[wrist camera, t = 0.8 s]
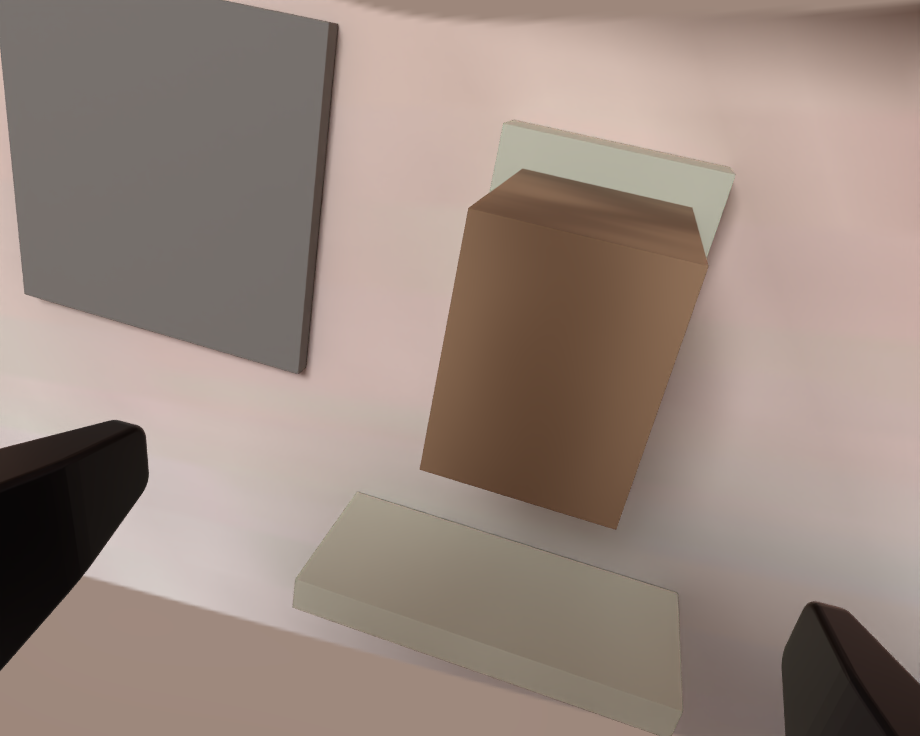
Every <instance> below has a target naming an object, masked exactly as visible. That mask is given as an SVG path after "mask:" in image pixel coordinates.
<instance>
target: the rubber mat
mask: <svg viewBox="0 0 920 736" xmlns="http://www.w3.org/2000/svg"><path fill="white" fill-rule="evenodd" d="M337 27H338V24H336V23H331V22H327V21H322V20H317V19H312V18H307V17H302V16H297V15H293V14H288V13H283V12H278V11H273V10H268V9H263V8H258V7H254V6H249V5H244V4H239V3H234V2H229V1H224V0H0V50H1V60H2V70H3V80H4V90H5V100H6V110H7V121H8V131H9V141H10V151H11V161H12V171H13V181H14V191H15V202H16V212H17V222H18V232H19V242H20V252H21V262H22V272H23V282H24V293H25V294H26V295H29V296H33V297H36V298H40V299H43V300H46V301H50V302H53V303H57V304H60V305H63V306H67V307H70V308H74V309H77V310H81V311H84V312H87V313H91V314H94V315H98V316H101V317H105V318H108V319H111V320H115V321H118V322H122V323H125V324H128V325H132V326H135V327H139V328H142V329H146V330H149V331H152V332H156V333H159V334H163V335H166V336H169V337H173V338H176V339H180V340H183V341H187V342H190V343H193V344H197V345H200V346H204V347H207V348H210V349H214V350H217V351H221V352H224V353H228V354H231V355H234V356H238V357H241V358H245V359H248V360H252V361H255V362H258V363H262V364H265V365H269V366H272V367H275V368H279V369H282V370H286V371H289V372H293V373H296V374H299V373H300V372H301V371H302V370H303V369H305V368H306V360H307V349H308V338H309V327H310V317H311V306H312V295H313V285H314V274H315V263H316V252H317V242H318V231H319V220H320V210H321V199H322V188H323V177H324V167H325V156H326V145H327V135H328V124H329V113H330V102H331V92H332V81H333V70H334V60H335V49H336V38H337Z"/></svg>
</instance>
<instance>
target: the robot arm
mask: <svg viewBox="0 0 920 736" xmlns="http://www.w3.org/2000/svg"><path fill="white" fill-rule="evenodd" d="M148 477H149V469H148V456H147V444H146V435H145V432H144V430H143V429H142V428H141V427H140V426H138V425H134V424H131V423H127V422H123V421H119V420H111V421H106V422H103V423H99V424H95V425H91V426H87V427H83V428H79V429H75V430H71V431H67V432H63V433H59V434H55V435H52V436H48V437H44V438H40V439H36V440H32V441H28V442H24V443H20V444H16V445H12V446H8V447H4V448H1V449H0V671H1V670H2V668H3V667H4V666H5V665H6V664H7V663H8V662H9V660H10V659H11V658H12V657H13V656H14V655H15V654H16V653H17V651H18V650H19V649H20V648H21V647H22V646H23V645H24V643H25V642H26V641H27V640H28V639H29V638H30V636H31V635H32V634H33V633H34V632H35V631H36V630H37V629H38V627H39V626H40V625H41V624H42V623H43V622H44V621H45V619H46V618H47V617H48V616H49V615H50V614H51V613H52V611H53V610H54V609H55V608H56V607H57V605H59V603H60V602H61V601H62V600H63V599H64V598H65V597H66V595H67V594H68V593H69V592H70V591H71V590H72V588H73V587H74V586H75V585H76V584H77V582H78V581H79V580H80V579H81V577H82V576H83V575H84V574H85V572H86V571H87V570H88V568H89V567H90V566H91V564H92V563H93V562H94V560H95V559H96V558H97V556H98V555H99V553H100V552H101V551H102V549H103V548H104V546H105V545H106V544H107V542H108V541H109V539H110V538H111V537H112V535H113V534H114V532H115V531H116V530H117V528H118V527H119V525H120V524H121V523H122V521H123V520H124V518H125V517H126V516H127V514H128V513H129V511H130V510H131V509H132V507H133V506H134V504H135V503H136V502H137V500H138V499H139V497H140V496H141V495H142V493H143V491H144V490H145V488H146V485H147V482H148ZM782 682H783V700H784V718H785V736H920V684H919V683H918V682H917V681H916V680H915V679H914V678H913V677H912V676H911V675H910V674H909V673H908V672H907V671H906V669H905V668H904V667H903V666H902V665H901V664H900V663H899V662H898V661H897V660H896V659H895V658H894V657H893V656H892V655H891V654H890V653H889V652H888V651H887V650H886V649H885V648H884V647H883V646H882V645H881V644H880V643H879V642H878V641H877V640H876V639H875V638H874V637H873V636H872V635H871V634H870V633H869V632H868V631H867V630H866V629H865V628H864V627H863V626H862V625H861V624H860V622H859V621H858V620H857V619H856V618H855V617H854V616H853V615H852V614H851V613H849V612H848V611H847V610H845V609H843V608H840V607H836V606H832V605H828V604H824V603H820V602H817V601H813V602H810V603H808V604H807V605H806V606H805V607H804V609H803V611H802V613H801V615H800V617H799V619H798V621H797V623H796V625H795V627H794V630H793V632H792V634H791V636H790V638H789V640H788V642H787V644H786V646H785V649H784V652H783V657H782Z"/></svg>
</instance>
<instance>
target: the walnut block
mask: <svg viewBox="0 0 920 736" xmlns="http://www.w3.org/2000/svg"><path fill="white" fill-rule="evenodd" d="M707 269H708V262H707V259H706V255H705V252H704V248H703V244H702V241H701V237H700V233H699V230H698V226H697V222H696V219H695V215H694V212H693V208H692V207H688V206H684V205H679V204H675V203H671V202H666V201H662V200H658V199H653V198H649V197H645V196H640V195H636V194H632V193H627V192H623V191H619V190H614V189H610V188H606V187H601V186H597V185H593V184H588V183H584V182H579V181H575V180H571V179H566V178H562V177H558V176H553V175H549V174H545V173H540V172H536V171H532V170H527V169H523V168H522V169H521V170H520V171H518V172H517V173H516V174H514V175H513V176H511V177H510V178H509V179H507V180H506V181H505V182H503V183H502V184H501V185H499V186H498V187H497V188H495V189H494V190H492V191H491V192H490V193H488V194H487V195H486V196H484V197H483V198H482V199H480V200H479V201H477V202H476V203H475V204H473V205H472V206H471V207H469V208H468V213H467V218H466V224H465V229H464V234H463V240H462V245H461V251H460V256H459V261H458V267H457V272H456V277H455V283H454V288H453V293H452V299H451V304H450V310H449V315H448V320H447V326H446V331H445V336H444V342H443V347H442V352H441V358H440V363H439V368H438V374H437V379H436V385H435V390H434V395H433V401H432V406H431V411H430V417H429V422H428V427H427V433H426V438H425V444H424V449H423V454H422V460H421V465H420V470H423V471H426V472H429V473H433V474H436V475H439V476H442V477H446V478H449V479H452V480H455V481H459V482H462V483H465V484H468V485H472V486H475V487H478V488H481V489H485V490H488V491H491V492H494V493H498V494H501V495H504V496H508V497H511V498H514V499H517V500H521V501H524V502H527V503H530V504H534V505H537V506H540V507H543V508H547V509H550V510H553V511H556V512H560V513H563V514H566V515H569V516H573V517H576V518H579V519H583V520H586V521H589V522H592V523H596V524H599V525H602V526H605V527H609V528H612V529H615V530H616V529H617V526H618V523H619V520H620V517H621V514H622V511H623V509H624V506H625V503H626V500H627V497H628V494H629V492H630V489H631V486H632V483H633V480H634V477H635V474H636V472H637V469H638V466H639V463H640V460H641V457H642V454H643V452H644V449H645V446H646V443H647V440H648V437H649V435H650V432H651V429H652V426H653V423H654V420H655V417H656V415H657V412H658V409H659V406H660V403H661V400H662V397H663V395H664V392H665V389H666V386H667V383H668V380H669V378H670V375H671V372H672V369H673V366H674V363H675V360H676V358H677V355H678V352H679V349H680V346H681V343H682V341H683V338H684V335H685V332H686V329H687V326H688V323H689V321H690V318H691V315H692V312H693V309H694V306H695V303H696V301H697V298H698V295H699V292H700V289H701V286H702V284H703V281H704V278H705V275H706V272H707Z"/></svg>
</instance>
